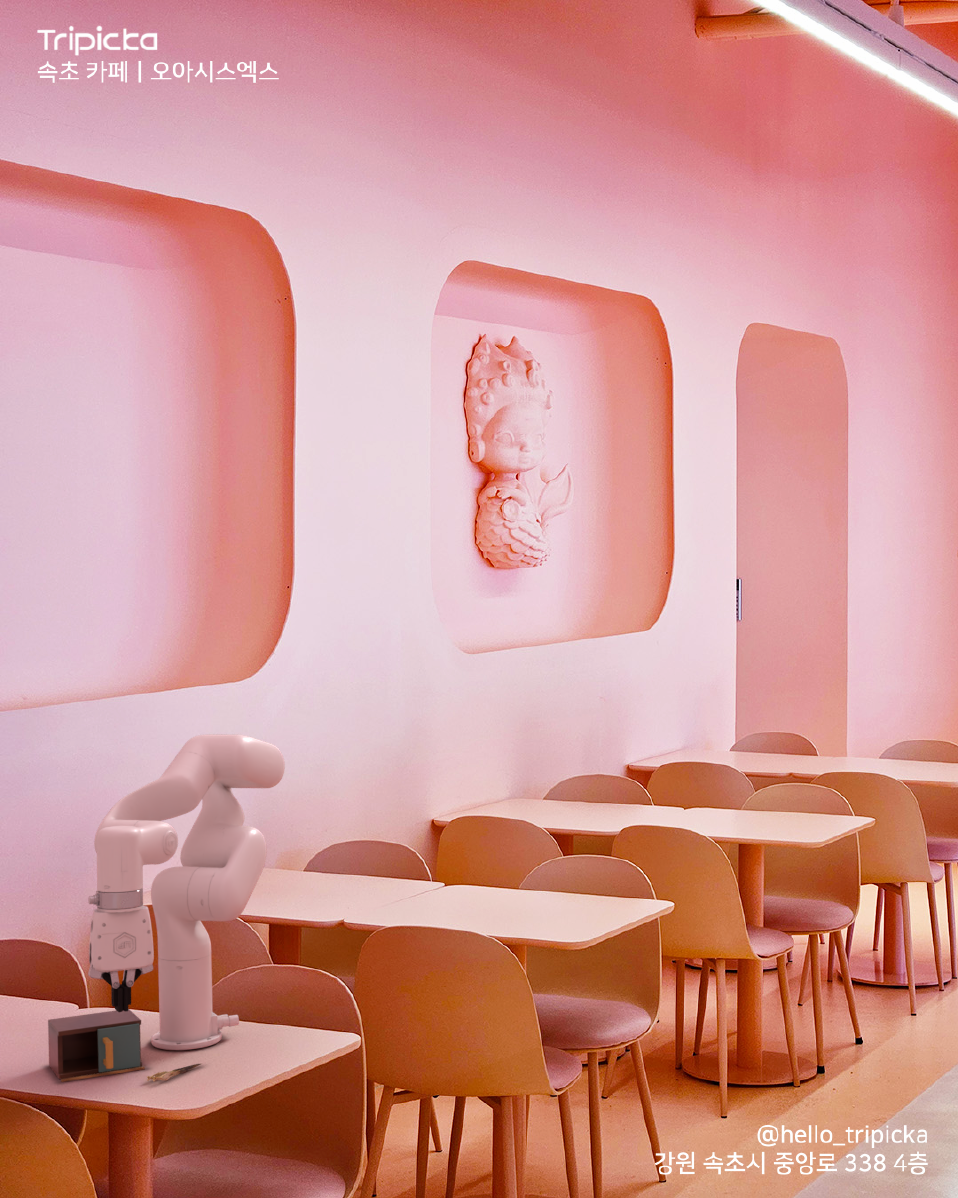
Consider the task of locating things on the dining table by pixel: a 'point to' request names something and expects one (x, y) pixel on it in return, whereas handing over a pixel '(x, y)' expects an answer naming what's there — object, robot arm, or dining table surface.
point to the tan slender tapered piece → (170, 1073)
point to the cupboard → (83, 1043)
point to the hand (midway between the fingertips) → (121, 1010)
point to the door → (118, 1047)
